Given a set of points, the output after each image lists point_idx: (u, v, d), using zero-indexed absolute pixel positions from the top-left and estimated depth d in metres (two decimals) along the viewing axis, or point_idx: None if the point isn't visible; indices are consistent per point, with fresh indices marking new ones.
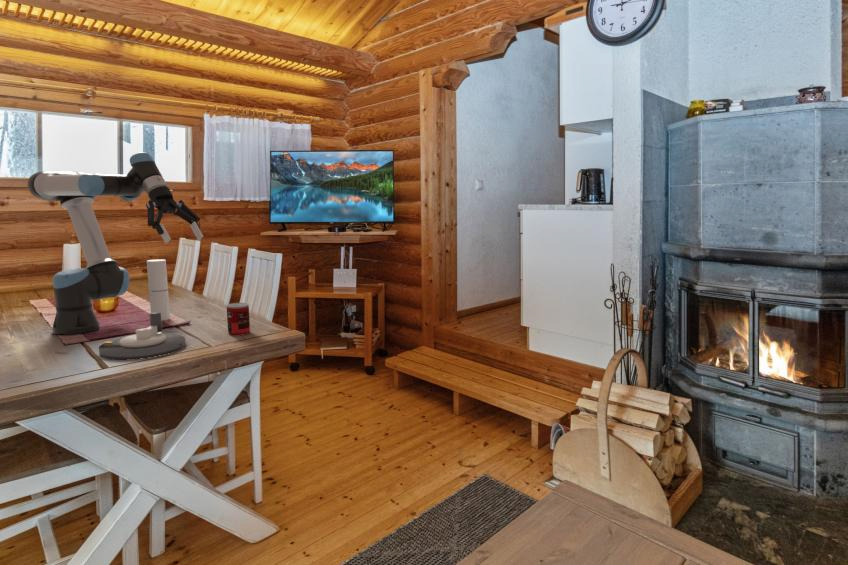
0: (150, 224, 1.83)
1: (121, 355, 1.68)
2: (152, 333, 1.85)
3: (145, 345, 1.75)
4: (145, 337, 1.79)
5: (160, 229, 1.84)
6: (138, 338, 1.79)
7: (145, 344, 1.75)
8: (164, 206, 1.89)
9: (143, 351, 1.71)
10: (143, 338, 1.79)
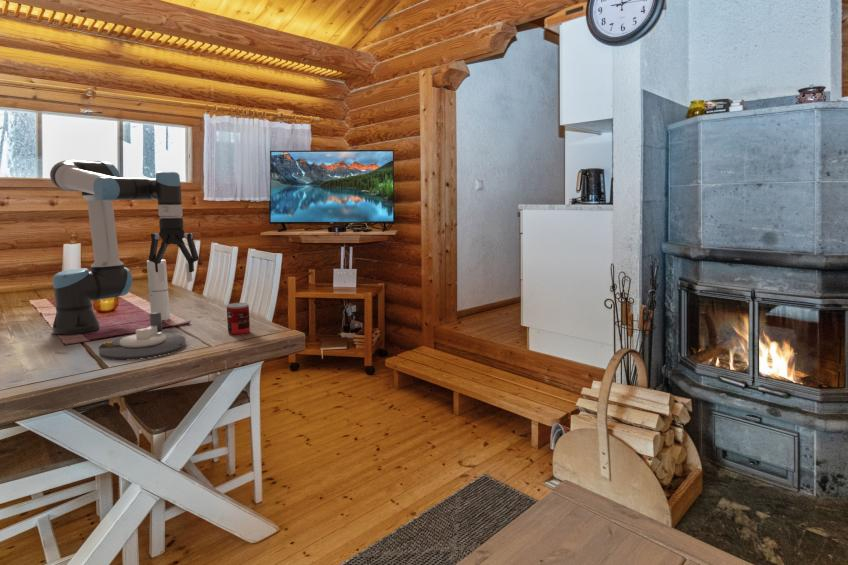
0: None
1: (121, 355, 1.68)
2: (152, 333, 1.85)
3: (145, 345, 1.75)
4: (145, 337, 1.79)
5: (156, 268, 1.86)
6: (138, 338, 1.79)
7: (145, 344, 1.75)
8: (164, 241, 1.84)
9: (143, 351, 1.71)
10: (143, 338, 1.79)
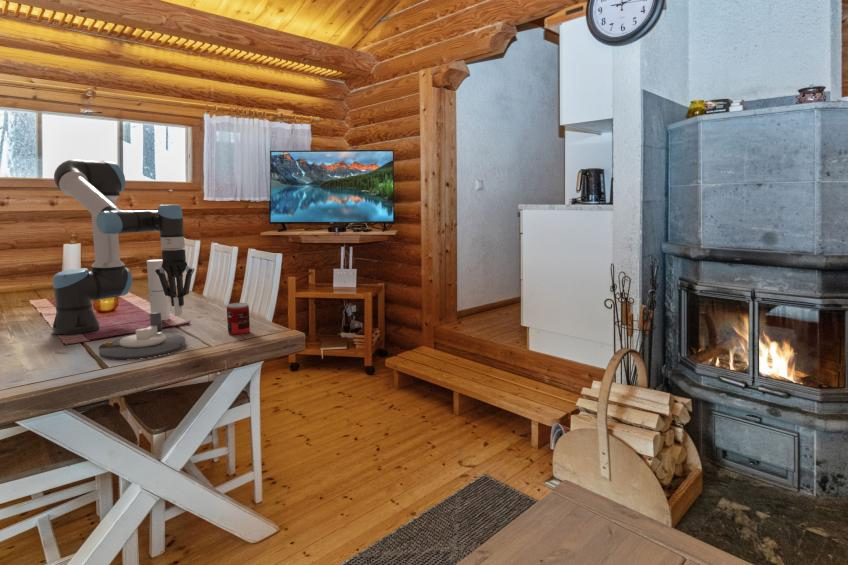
0: None
1: (121, 355, 1.68)
2: (152, 333, 1.85)
3: (145, 345, 1.75)
4: (145, 337, 1.79)
5: (172, 302, 1.88)
6: (138, 338, 1.79)
7: (145, 344, 1.75)
8: (169, 273, 1.86)
9: (143, 351, 1.71)
10: (143, 338, 1.79)
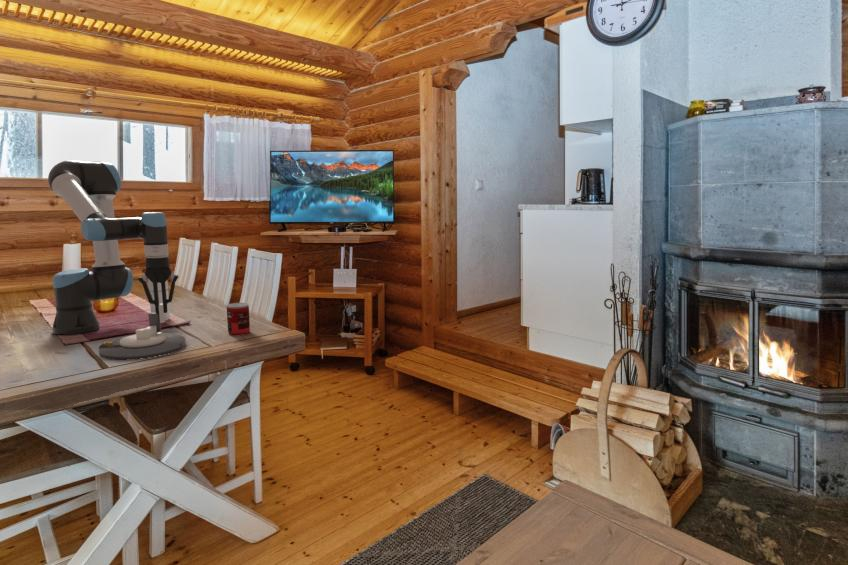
0: None
1: (121, 355, 1.68)
2: (151, 333, 1.85)
3: (146, 345, 1.75)
4: (145, 337, 1.79)
5: (156, 310, 1.89)
6: (138, 338, 1.79)
7: (146, 344, 1.75)
8: (154, 280, 1.86)
9: (143, 351, 1.71)
10: (143, 338, 1.79)
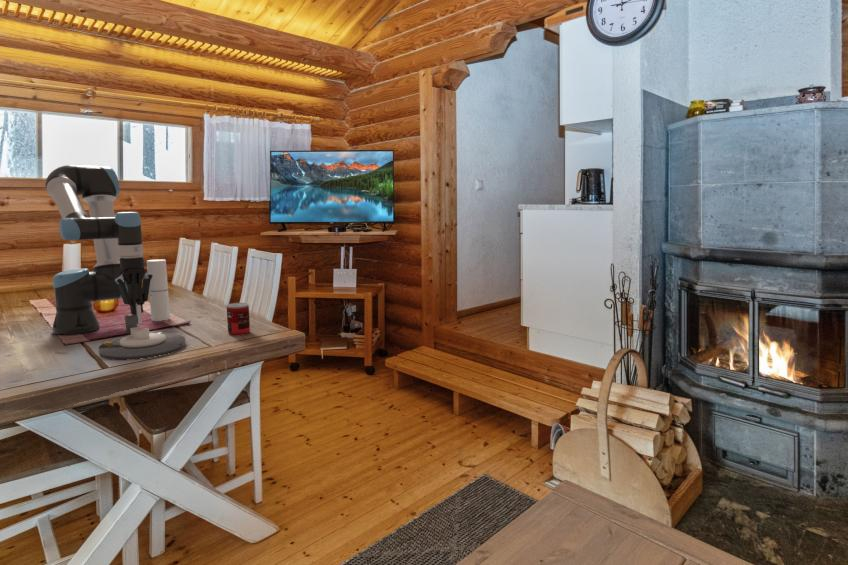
0: None
1: (121, 355, 1.68)
2: None
3: (161, 341, 1.79)
4: (149, 336, 1.81)
5: (134, 310, 1.87)
6: (143, 338, 1.79)
7: (161, 340, 1.79)
8: (133, 280, 1.84)
9: (143, 351, 1.71)
10: (148, 337, 1.80)
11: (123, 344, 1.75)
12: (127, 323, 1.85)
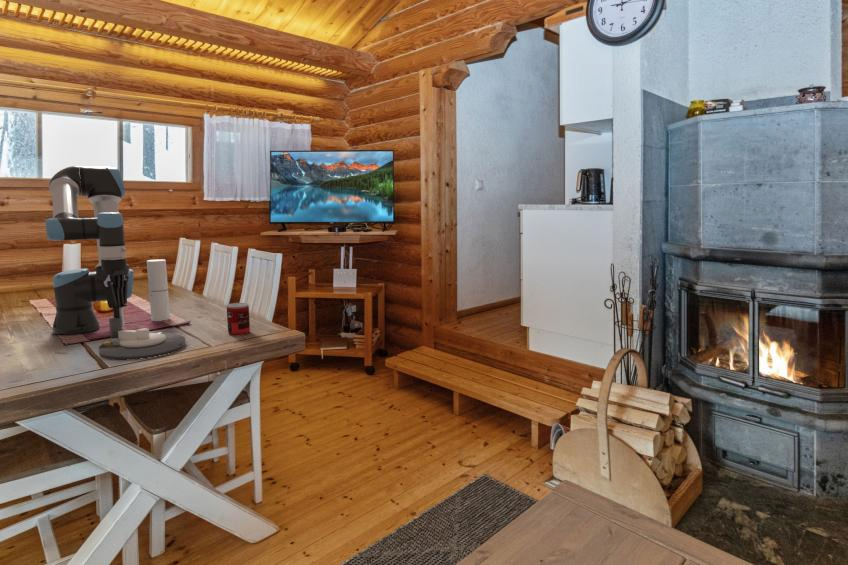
0: (112, 307, 1.80)
1: (121, 355, 1.68)
2: None
3: (165, 338, 1.83)
4: None
5: (118, 313, 1.82)
6: (146, 337, 1.80)
7: (165, 337, 1.83)
8: (119, 282, 1.81)
9: (143, 351, 1.71)
10: (149, 336, 1.81)
11: (134, 345, 1.74)
12: (114, 327, 1.80)
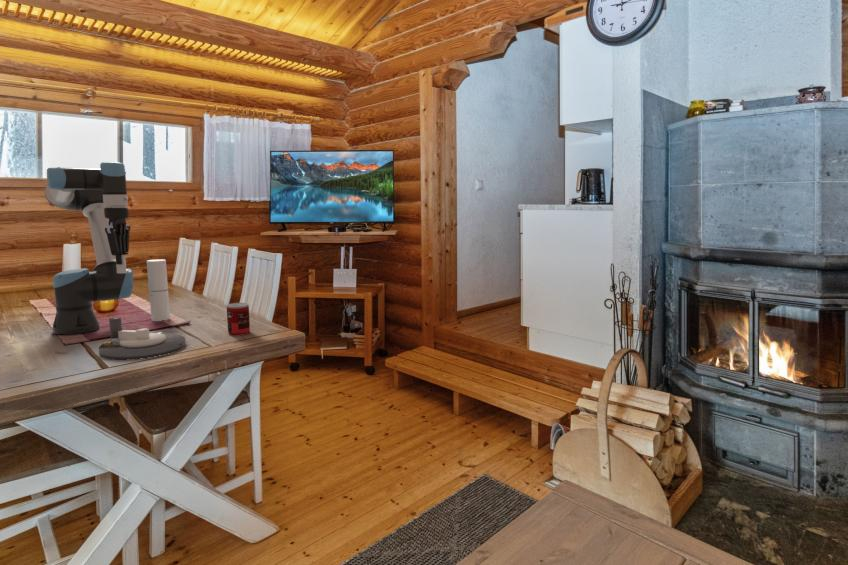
0: (114, 253, 1.87)
1: (121, 355, 1.68)
2: None
3: (165, 338, 1.83)
4: None
5: (120, 260, 1.89)
6: (146, 337, 1.80)
7: (165, 337, 1.83)
8: (121, 230, 1.88)
9: (143, 351, 1.71)
10: (149, 336, 1.81)
11: (134, 345, 1.74)
12: (114, 327, 1.80)
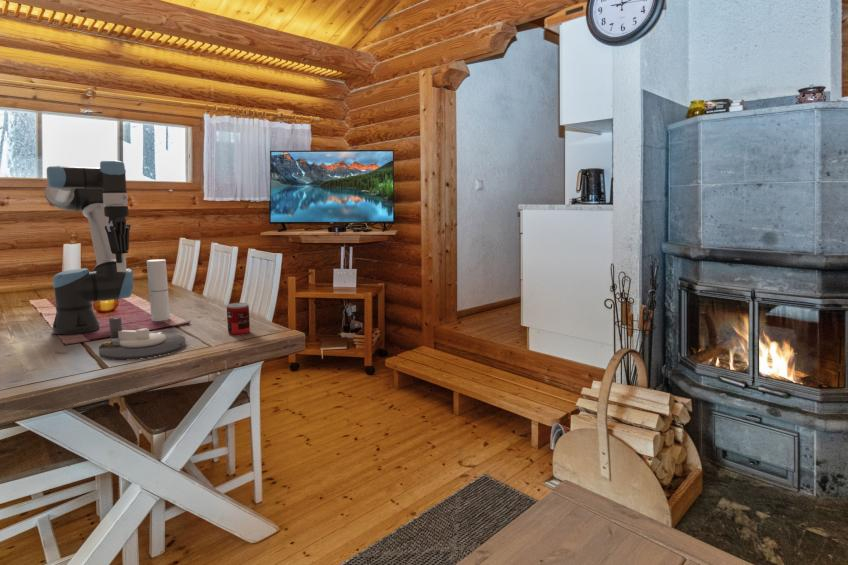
0: (114, 252, 1.87)
1: (121, 355, 1.68)
2: None
3: (165, 338, 1.83)
4: None
5: (120, 259, 1.89)
6: (146, 337, 1.80)
7: (165, 337, 1.83)
8: (121, 229, 1.88)
9: (143, 351, 1.71)
10: (149, 336, 1.81)
11: (134, 345, 1.74)
12: (114, 327, 1.80)
